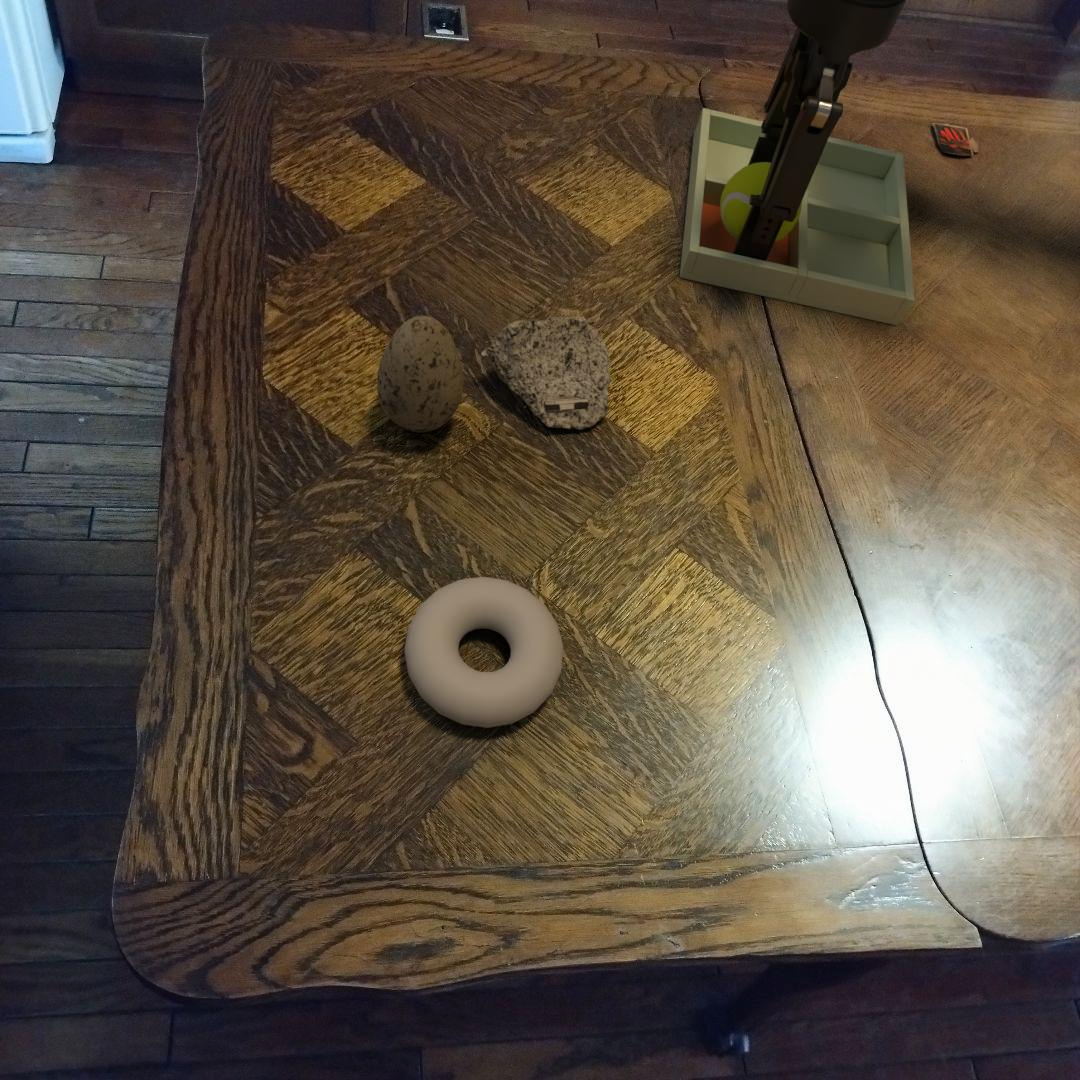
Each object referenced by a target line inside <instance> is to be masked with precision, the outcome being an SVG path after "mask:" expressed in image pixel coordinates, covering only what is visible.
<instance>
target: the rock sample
mask: <svg viewBox="0 0 1080 1080" xmlns="http://www.w3.org/2000/svg"><path fill="white" fill-rule="evenodd" d="M530 315H532V313H530ZM531 319H532V318H531ZM485 343H487V344H489V343H490V344H489V345H488V347H487V346H486V347H485V348H484V349H483V351H481V356H483V357H486V358H488V359H489V361H490V363H492V364H491V365H492V366H493V368H494V369H495V370H494V371H495V373H496V374H497V376H498V378H499V379H500V380H501V381H502V382H503V383H504V384H505V385H507V388H508V389H510V390H511V392H513V393H515V395H518V396H519V397H520V398H521V399H522V400H523V401H524V402H525V404H526V405H527V406H526V405H524V408H528V409H529V410H530V411H531V413H532V415H534V417H537V418H538V419H540V421H541V423H543V424H544V425H545V426H546V427H547V428H553V429H565V430H578V431H583V430H585V429H587V428H591V427H593V426H595V425H596V424H597V422H599V421H601V420H602V419H604V418H605V417H606V415H607V411H608V410H609V392H608V388H609V386H610V385H611V382H612V381H613V379H612V374H611V373H610V372H609V369H610V367H611V363H612V359H611V356H612V355H610V356H609V353H612V350H610V351H609V347H608V346H607V345H606V343H605V341H604V339H603V337H602V336H601V335H600V334H599V332H598V330H597V327H595V326H594V325H591V324H589V323H588V322H587V318H586V317H585V316H581V315H580V316H577V315H576V314H575V315H573V316H557V317H556V316H555V317H548V318H546V319H542V320H541V319H539V320H530V319H517V320H515V321H512V322H511V323H509V324H508V325H506V326H504V327H502V328H501V330H500V331H498V332H497V333H496V334H495V336H494V337H492V338H490V339H489V341H488V340H487V341H485Z"/></svg>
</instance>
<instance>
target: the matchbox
mask: <svg viewBox="0 0 1080 1080" xmlns="http://www.w3.org/2000/svg"><path fill="white" fill-rule="evenodd" d="M929 126H932V127H933V129H934V133H935V136H936V138H934V139H935V141H937V144H938V145H939V147H940V149H941V150H942V152H943V153H945V154H951V155H956V156H964V157H967V156H974V153H976V154H977V153H979V152H980V149H981V147H980V145H979V143H977V141H976V140H975V139H974V137H971V136H970V135H969V129H968V127H964V126H959V125H952V124H949V123H948V122H945V123H939V122H933V123H932V122H930V123H929Z"/></svg>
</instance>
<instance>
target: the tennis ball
mask: <svg viewBox="0 0 1080 1080" xmlns="http://www.w3.org/2000/svg"><path fill="white" fill-rule="evenodd" d="M770 166H771V163H769V162H760V163H753V164H751V165H748V166H746V167H743V168H742V169H741V170H739V171H738V172H737V173H735V174H734V175H733V176H732V177H731V179H730V180H729V181H728V183H727V184H726V186H725V188H724V190H723V193H722V196H721V201H720V214H721V219H722V222H723V224H724V226H725V228H726V230H727V231H728V232H729V234H730V235H731V236H732V237H733V238H735V239H736V240H738V239H739V237H740V234H741V232H742V229H743V227H744V224H745V222H746V219H747V217H748V215H749V212H750V210H751V207H752V205H749V201H750V196H751V194H753V195H761V193H762V190H763V187H764V184H765V181H766V178H767V175H768V172H769V169H770ZM801 206H802V202H801V204H800V206H799V209H798V211H797V215H796V217H795V218H794V221H793V222H789V221H784V222H783V224H782V226H781V228H780V231H779V233H778V235H777V237H776V240H775V242H777V241H779V240H781V239H783V238H784V237H785V236H786V235H787V234H788V233H789V232H790V231H791V230H792V229H793V227H794V226H795V224H796V222H797V221H798V218H799V215H800V212H801ZM775 242H774V243H775Z"/></svg>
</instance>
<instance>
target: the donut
mask: <svg viewBox="0 0 1080 1080" xmlns="http://www.w3.org/2000/svg"><path fill="white" fill-rule="evenodd" d="M480 629H486V630H492V631H494V632H496V633H498V634H500V635H501V636H502V637H503V638H504V639H505V640H506V643H508V645H509V648H510V654H509V655H510V657H509V659H508V661H507V663H506V664H505V665H504V666H503V667H500V668H499V669H497V670H494V671H488V672H487V671H479V670H477V669H474V668H472V667H470V665H468V664H466V662H464V660H463V659H462V657H461V655H460V653H459V646H460V643H461V640H462V639H463V637H464V636H465V635H466V634H468V633H470V632H472V631H474V630H480ZM404 656H405V663H406V667H407V674H408V676H409V678H410V680H411V682H412V683H413V685H414V687H415V689H416V691H417V692H418V694H419V696H420V698H421V699H422V700H423V701H425V702H426V703H427V704H428V705H429V706H430V707H431V708H432V709H433V710H434V711H436V712H437V713H438V714H439V715H441V716H443V717H445V718H447V719H450V720H452V721H454V722H456V723H458V724H460V725H464V726H471V727H477V728H478V727H479V728H486V729H489V728H496V727H499V726H507V725H512V724H514V723H516V722H518V721H520V720H521V719H524V718H526V717H528V716H530V715H531V714H534V713H535V711H537V709H539V708H540V706H541V705H543V703H544V702H545V701H546V700H547V699H548V698H549V697H550V696H551V695H552V694H553V692H554V690H555V687H556V685H557V683H558V680H559V679H560V676H561V674H562V671H563V670H562V669H563V659H564V658H563V657H564V644H563V639H562V636H561V632H560V628H559V624H558V623H557V621H556V620H555V618H554V616H553V615H552V613H551V612H550V610H549V608H548V607H547V606H546V604H545V603H543V602H542V601H541V600H540V599H539V598H538V597H536V596H535V595H534V594H532V592H530V591H529V590H528V589H526V588H525V587H522V586H520V585H517V584H516V583H513V582H511V581H509V580H506V579H503V578H502V579H501V578H494V577H488V576H478V577H471V578H470V577H469V578H463V579H458V580H456V581H453V582H451V583H449V584H446V585H445V586H443V587H440V588H438V589H436V590H435V591H434V592H433V593H432V594H431V595H430V596H429V597H427V598H426V599H425V600H424V601H423V602H422V603H421V604H420V605H419V607H418V609H417V610H416V612H415V614H414V616H413V617H412V620H411V621H410V623H409V625H408V627H407V632H406V638H405V643H404Z"/></svg>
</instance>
